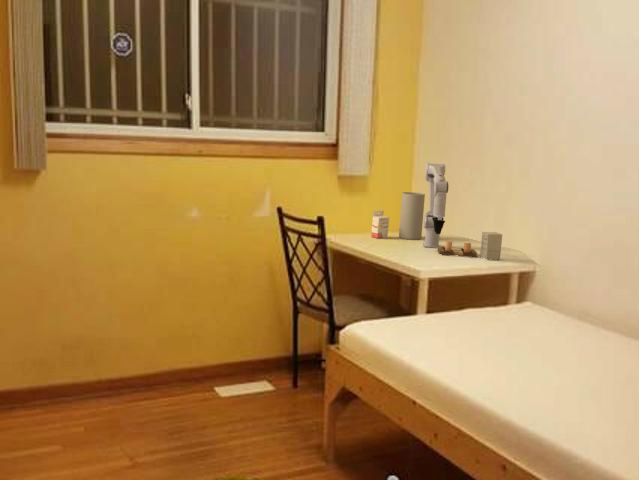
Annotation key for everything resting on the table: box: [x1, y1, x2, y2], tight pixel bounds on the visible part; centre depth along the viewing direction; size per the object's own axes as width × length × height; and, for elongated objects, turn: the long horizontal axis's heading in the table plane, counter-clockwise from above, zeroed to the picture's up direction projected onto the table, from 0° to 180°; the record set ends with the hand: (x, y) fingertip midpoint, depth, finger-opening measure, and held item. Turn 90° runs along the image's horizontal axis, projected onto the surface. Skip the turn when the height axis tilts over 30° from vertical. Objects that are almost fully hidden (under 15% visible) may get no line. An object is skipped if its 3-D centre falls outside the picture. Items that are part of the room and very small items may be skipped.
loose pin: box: [444, 241, 453, 251], centre depth 331 cm, size 3×3×6 cm
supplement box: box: [479, 231, 503, 260], centre depth 325 cm, size 7×7×13 cm
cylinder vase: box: [398, 191, 426, 241], centre depth 376 cm, size 12×12×25 cm
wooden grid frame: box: [436, 246, 478, 258], centre depth 333 cm, size 12×18×2 cm, turn 85°
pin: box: [463, 242, 472, 253], centre depth 330 cm, size 3×3×6 cm
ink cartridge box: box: [370, 210, 390, 239], centre depth 372 cm, size 9×5×15 cm, turn 133°
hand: (437, 232), depth 336 cm, fingers open, 7 cm apart
